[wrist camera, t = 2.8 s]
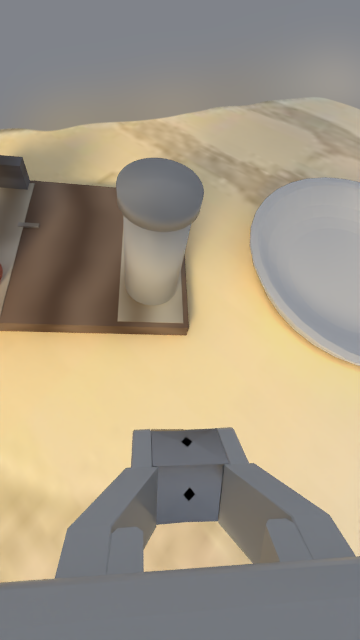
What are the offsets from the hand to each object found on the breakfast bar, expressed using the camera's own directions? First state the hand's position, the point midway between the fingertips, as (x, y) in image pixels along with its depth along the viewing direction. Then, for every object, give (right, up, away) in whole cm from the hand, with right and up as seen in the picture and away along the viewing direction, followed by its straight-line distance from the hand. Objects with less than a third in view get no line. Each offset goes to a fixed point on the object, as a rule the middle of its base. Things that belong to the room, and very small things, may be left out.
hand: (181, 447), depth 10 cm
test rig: (-11, +11, +24) cm, 29 cm away
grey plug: (-3, +7, +21) cm, 23 cm away
